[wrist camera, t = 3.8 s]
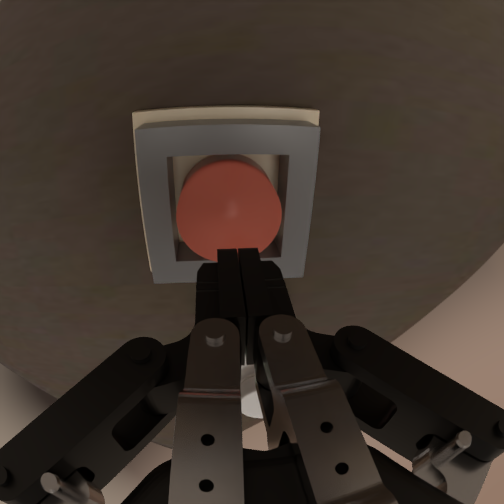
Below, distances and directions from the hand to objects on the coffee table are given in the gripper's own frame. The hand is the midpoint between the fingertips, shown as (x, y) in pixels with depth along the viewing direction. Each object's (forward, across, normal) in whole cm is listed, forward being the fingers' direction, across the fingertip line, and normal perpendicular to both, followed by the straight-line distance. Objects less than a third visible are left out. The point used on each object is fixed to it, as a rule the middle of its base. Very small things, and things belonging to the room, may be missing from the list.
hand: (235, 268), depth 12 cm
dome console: (+10, 0, +1) cm, 10 cm away
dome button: (+8, 0, +1) cm, 8 cm away
